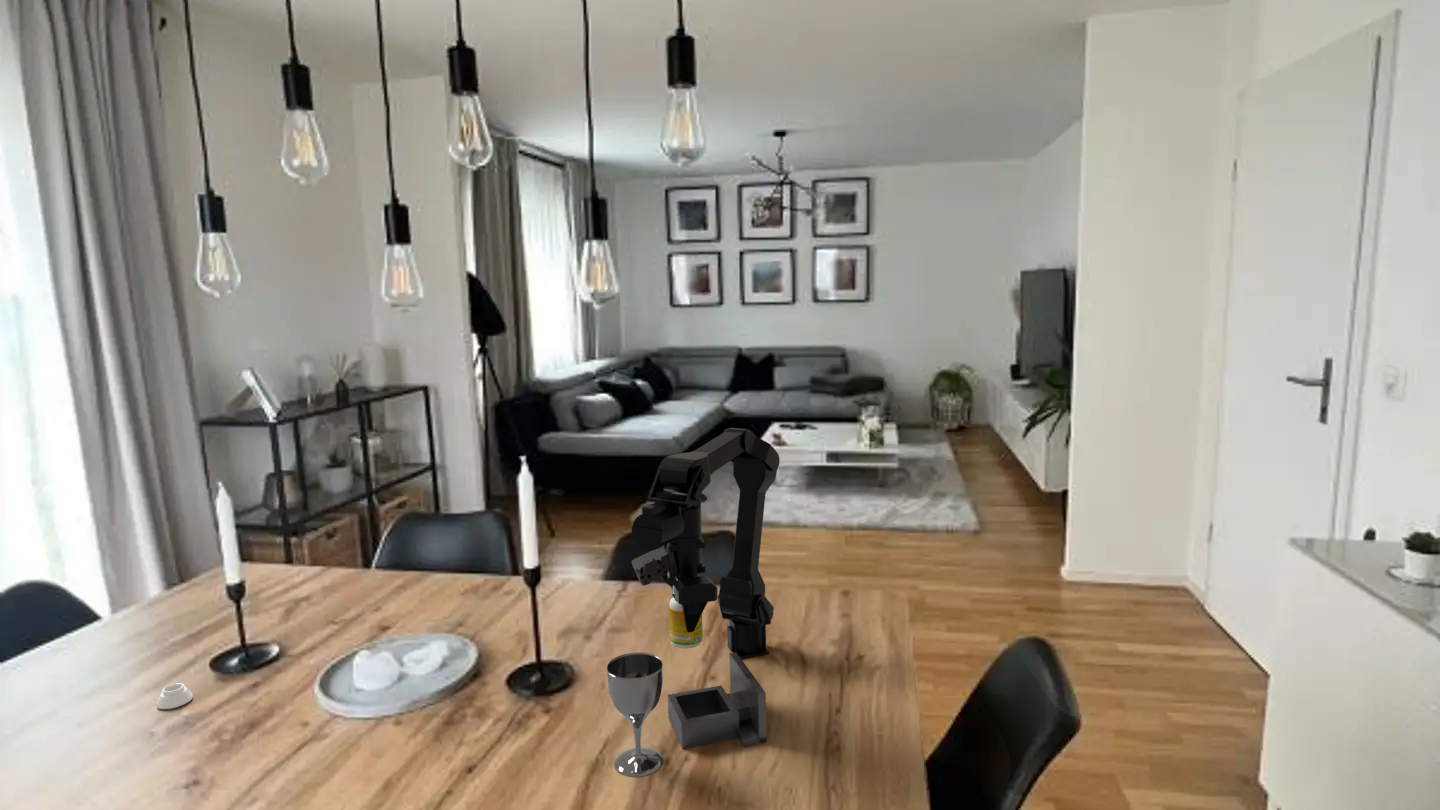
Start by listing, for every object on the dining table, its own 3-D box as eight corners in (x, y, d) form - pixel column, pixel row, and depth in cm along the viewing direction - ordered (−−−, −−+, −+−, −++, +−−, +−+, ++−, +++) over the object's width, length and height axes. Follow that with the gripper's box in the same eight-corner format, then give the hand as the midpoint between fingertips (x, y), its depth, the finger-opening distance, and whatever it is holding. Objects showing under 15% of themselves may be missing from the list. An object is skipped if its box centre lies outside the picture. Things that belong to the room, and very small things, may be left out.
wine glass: (612, 748, 117) (608, 654, 114) (665, 744, 117) (662, 650, 115) (609, 780, 109) (605, 680, 107) (666, 776, 109) (662, 676, 107)
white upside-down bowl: (150, 709, 131) (172, 713, 130) (148, 692, 131) (170, 696, 130) (178, 694, 136) (199, 698, 135) (176, 678, 136) (197, 682, 134)
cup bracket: (737, 697, 130) (736, 652, 129) (766, 741, 117) (765, 692, 116) (664, 710, 127) (663, 664, 126) (686, 758, 114) (684, 707, 112)
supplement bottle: (698, 650, 125) (696, 593, 124) (666, 647, 127) (664, 590, 125) (706, 636, 131) (705, 581, 129) (675, 634, 132) (674, 579, 130)
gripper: (625, 522, 133) (628, 609, 135) (645, 556, 115) (648, 656, 117) (689, 516, 136) (691, 602, 138) (717, 548, 118) (719, 646, 120)
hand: (686, 624), depth 128 cm, fingers closed on supplement bottle, 5 cm apart
